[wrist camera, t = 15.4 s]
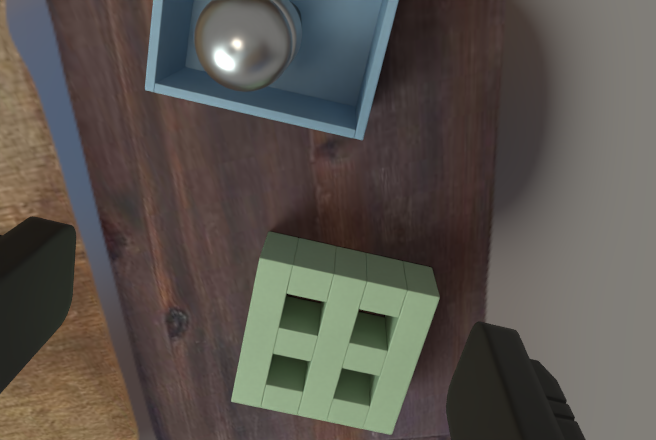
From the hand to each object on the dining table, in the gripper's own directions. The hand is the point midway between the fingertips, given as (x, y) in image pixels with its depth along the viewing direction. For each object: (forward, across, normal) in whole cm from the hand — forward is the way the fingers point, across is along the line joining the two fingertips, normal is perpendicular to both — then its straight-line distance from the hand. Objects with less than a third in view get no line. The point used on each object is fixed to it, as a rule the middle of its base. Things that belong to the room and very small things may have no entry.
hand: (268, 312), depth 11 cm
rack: (+34, -4, +21) cm, 40 cm away
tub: (+34, +5, -3) cm, 34 cm away
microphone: (+33, +5, -3) cm, 34 cm away
